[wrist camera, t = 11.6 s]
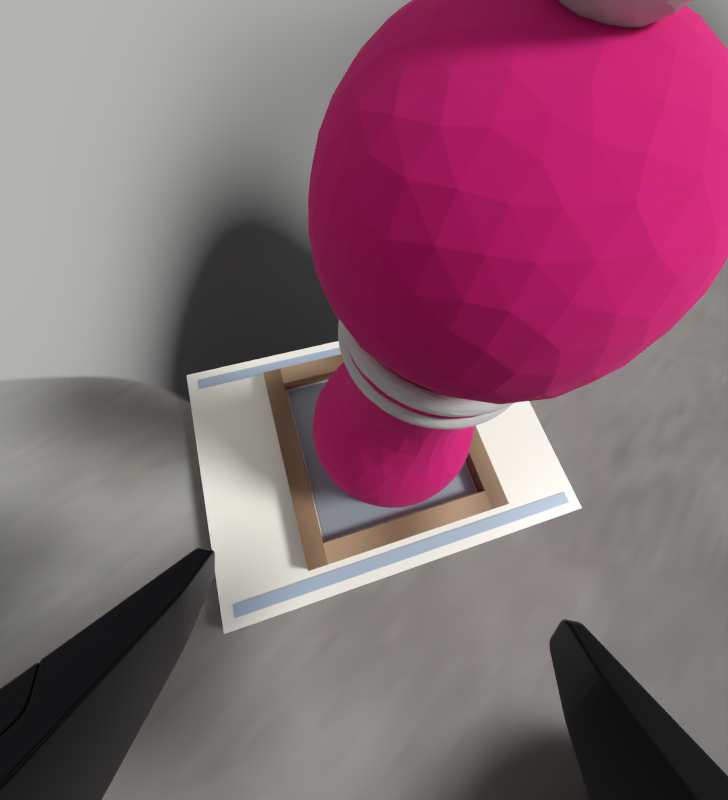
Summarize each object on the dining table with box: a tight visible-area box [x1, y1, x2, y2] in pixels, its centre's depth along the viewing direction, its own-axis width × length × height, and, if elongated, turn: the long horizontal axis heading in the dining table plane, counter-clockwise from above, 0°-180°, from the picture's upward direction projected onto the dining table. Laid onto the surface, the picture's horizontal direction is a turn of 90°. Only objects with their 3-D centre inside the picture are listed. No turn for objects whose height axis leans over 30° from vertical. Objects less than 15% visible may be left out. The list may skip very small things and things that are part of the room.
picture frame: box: [187, 341, 582, 634], centre depth 21 cm, size 20×14×1 cm
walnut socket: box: [263, 354, 509, 571], centre depth 20 cm, size 11×11×1 cm
